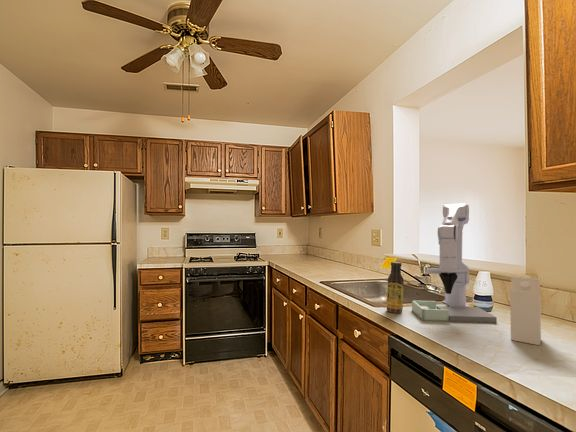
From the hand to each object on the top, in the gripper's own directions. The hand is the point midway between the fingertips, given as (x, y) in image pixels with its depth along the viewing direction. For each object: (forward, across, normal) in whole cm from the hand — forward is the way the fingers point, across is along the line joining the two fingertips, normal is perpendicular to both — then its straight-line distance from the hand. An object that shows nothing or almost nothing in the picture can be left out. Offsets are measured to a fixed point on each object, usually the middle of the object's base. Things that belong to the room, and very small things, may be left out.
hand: (448, 293), depth 123 cm
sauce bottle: (+10, -18, +7) cm, 21 cm away
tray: (+9, -6, +3) cm, 11 cm away
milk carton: (+10, +15, -21) cm, 28 cm away
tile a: (+7, -8, +6) cm, 12 cm away
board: (+9, +7, +3) cm, 12 cm away
